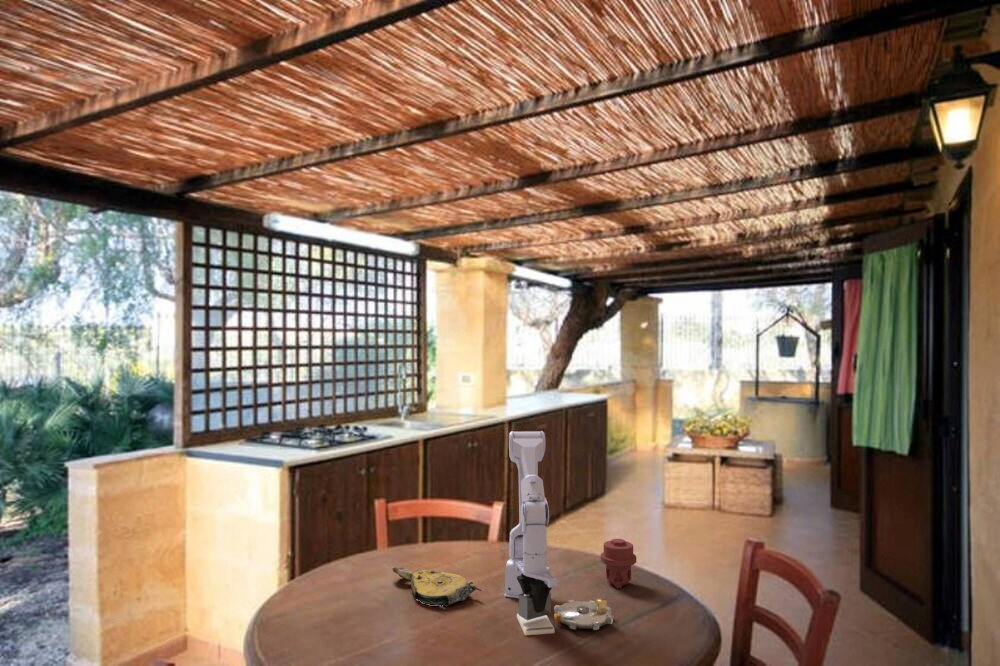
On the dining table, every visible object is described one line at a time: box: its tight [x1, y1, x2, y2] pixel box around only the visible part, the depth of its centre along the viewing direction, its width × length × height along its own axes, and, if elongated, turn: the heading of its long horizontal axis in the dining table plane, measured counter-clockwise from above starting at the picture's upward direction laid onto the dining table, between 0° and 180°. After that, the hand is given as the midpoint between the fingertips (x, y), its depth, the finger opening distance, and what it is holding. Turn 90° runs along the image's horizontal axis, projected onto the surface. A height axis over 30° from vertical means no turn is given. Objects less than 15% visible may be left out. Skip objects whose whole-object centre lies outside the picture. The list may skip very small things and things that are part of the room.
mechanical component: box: [600, 538, 637, 589], centre depth 179 cm, size 12×10×10 cm
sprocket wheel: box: [553, 597, 614, 631], centre depth 154 cm, size 15×15×4 cm
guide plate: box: [516, 612, 556, 636], centre depth 152 cm, size 10×7×1 cm
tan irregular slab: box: [391, 566, 482, 610], centre depth 173 cm, size 14×6×30 cm
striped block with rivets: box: [518, 591, 552, 620], centre depth 152 cm, size 7×4×5 cm, turn 123°
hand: (535, 608), depth 152 cm, fingers closed on striped block with rivets, 3 cm apart
